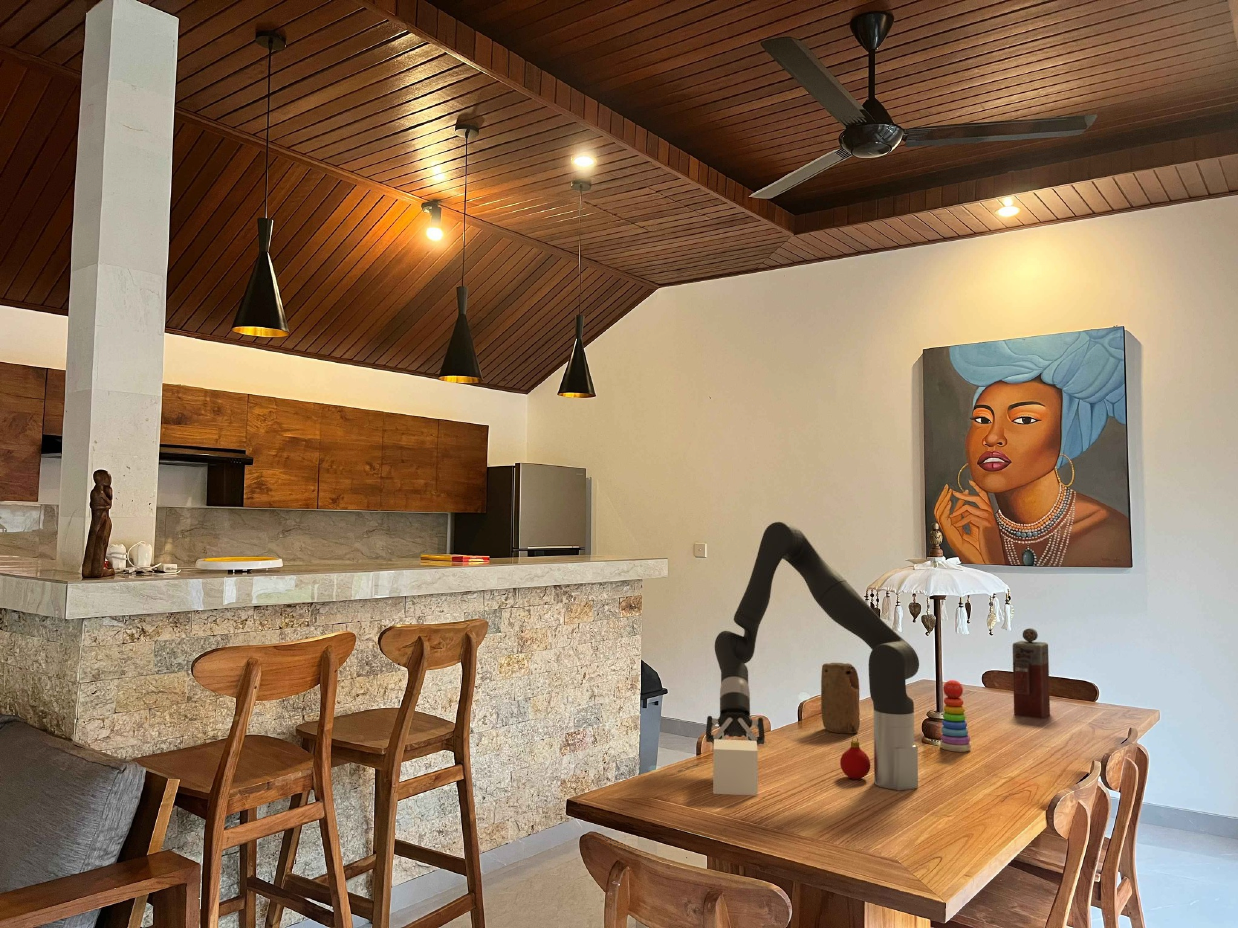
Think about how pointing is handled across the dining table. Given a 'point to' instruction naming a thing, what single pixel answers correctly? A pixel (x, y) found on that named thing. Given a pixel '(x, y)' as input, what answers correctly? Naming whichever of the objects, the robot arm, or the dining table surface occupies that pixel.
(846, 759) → the christmas ornament
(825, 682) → the block
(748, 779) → the plain beige cube
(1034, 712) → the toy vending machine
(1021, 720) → the dining table surface
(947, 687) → the stacking toy
